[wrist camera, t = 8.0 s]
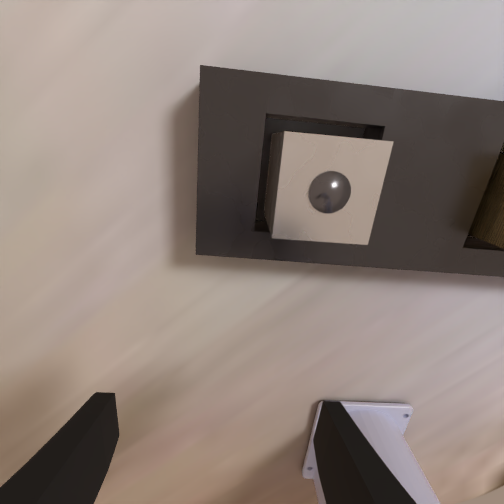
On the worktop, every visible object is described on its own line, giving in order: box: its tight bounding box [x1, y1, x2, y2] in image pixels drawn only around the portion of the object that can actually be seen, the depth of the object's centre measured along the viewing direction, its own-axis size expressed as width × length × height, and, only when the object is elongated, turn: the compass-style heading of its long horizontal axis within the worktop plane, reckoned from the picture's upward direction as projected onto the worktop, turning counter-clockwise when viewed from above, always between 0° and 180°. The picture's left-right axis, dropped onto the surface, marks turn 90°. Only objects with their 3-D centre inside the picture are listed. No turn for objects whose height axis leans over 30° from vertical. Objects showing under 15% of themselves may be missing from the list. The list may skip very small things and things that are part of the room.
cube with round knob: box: [264, 131, 393, 245], centre depth 14 cm, size 4×4×5 cm
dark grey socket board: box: [196, 65, 504, 277], centre depth 16 cm, size 9×24×2 cm, turn 85°
